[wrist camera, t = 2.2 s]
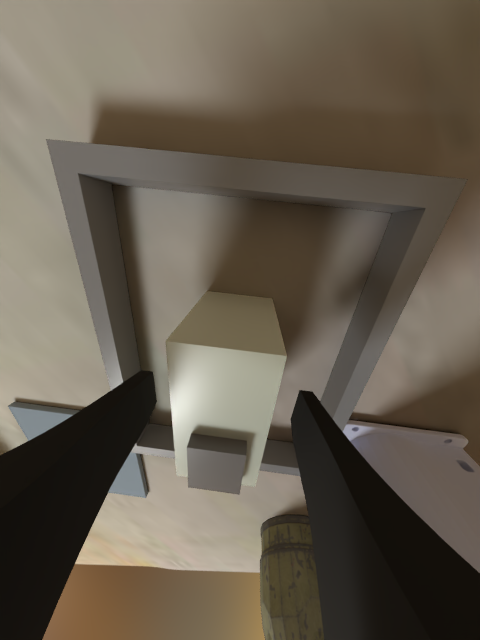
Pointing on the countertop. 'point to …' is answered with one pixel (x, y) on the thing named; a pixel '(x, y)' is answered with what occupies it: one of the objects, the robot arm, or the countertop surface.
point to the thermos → (289, 581)
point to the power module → (224, 388)
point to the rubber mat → (46, 417)
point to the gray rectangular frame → (256, 183)
